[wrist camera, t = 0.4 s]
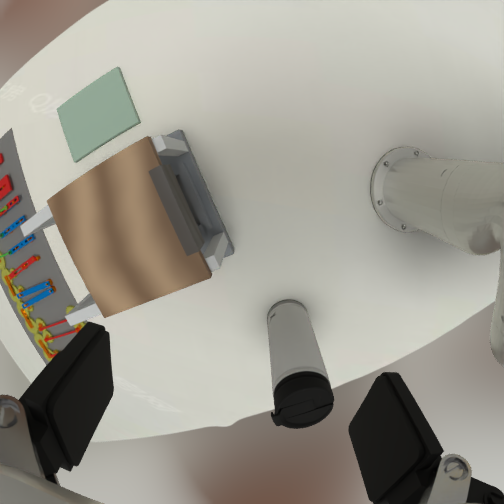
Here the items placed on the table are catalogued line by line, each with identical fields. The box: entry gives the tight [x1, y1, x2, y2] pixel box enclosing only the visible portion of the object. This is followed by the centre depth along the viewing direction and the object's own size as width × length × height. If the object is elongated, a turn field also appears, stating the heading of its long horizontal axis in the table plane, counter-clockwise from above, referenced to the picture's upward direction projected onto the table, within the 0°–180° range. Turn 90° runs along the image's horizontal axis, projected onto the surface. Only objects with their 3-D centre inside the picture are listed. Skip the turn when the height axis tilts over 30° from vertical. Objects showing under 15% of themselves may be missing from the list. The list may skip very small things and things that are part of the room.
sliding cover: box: [47, 136, 212, 318], centre depth 27 cm, size 15×15×4 cm
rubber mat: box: [57, 67, 141, 162], centre depth 35 cm, size 12×10×1 cm
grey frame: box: [20, 130, 234, 326], centre depth 35 cm, size 22×18×12 cm
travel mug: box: [267, 300, 334, 429], centre depth 35 cm, size 6×7×20 cm
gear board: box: [0, 128, 87, 365], centre depth 42 cm, size 45×2×19 cm
